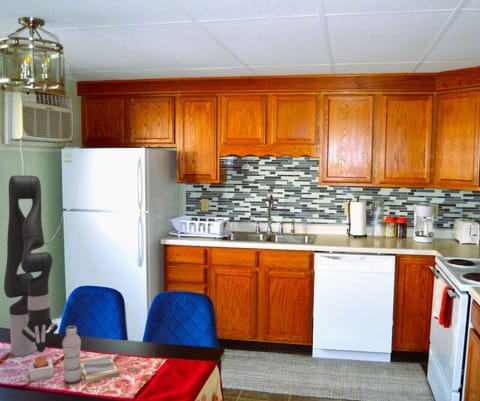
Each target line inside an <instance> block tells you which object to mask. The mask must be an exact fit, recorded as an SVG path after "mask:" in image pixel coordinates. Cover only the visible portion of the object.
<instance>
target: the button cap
mask: <svg viewBox="0 0 480 401" xmlns="http://www.w3.org/2000/svg"><path fill="white" fill-rule="evenodd" d="M46 359H47V356H46V355H40V356H37V357H35V358H34V362H35V368H41V367H46V366H47V361H46Z"/></svg>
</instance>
